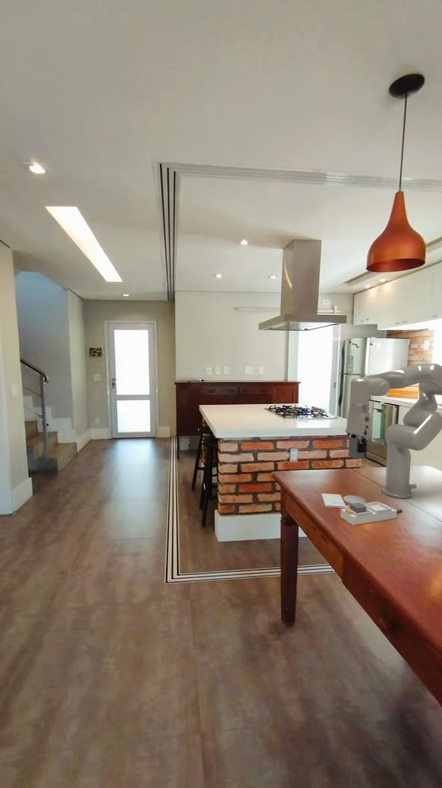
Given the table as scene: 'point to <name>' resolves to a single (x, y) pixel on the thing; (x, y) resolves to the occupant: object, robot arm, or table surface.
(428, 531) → the table surface
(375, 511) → the power strip
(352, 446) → the charger
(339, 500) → the external hard drive
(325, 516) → the table surface
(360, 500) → the coaster
